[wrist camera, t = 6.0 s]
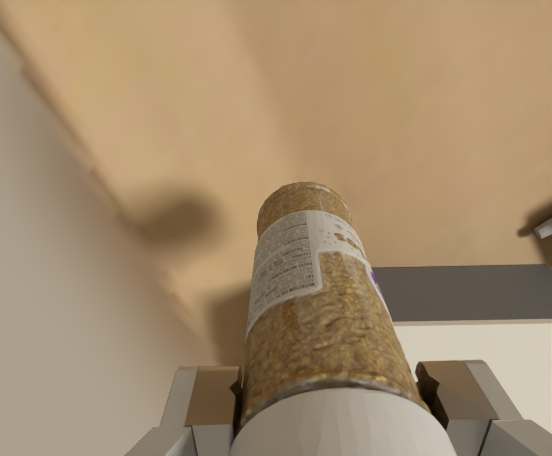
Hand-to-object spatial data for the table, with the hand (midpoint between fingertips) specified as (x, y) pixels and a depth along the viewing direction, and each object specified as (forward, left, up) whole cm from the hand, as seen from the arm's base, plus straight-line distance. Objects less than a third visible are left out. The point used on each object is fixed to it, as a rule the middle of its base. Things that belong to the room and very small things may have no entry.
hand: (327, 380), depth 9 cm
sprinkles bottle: (0, 0, -10) cm, 10 cm away
